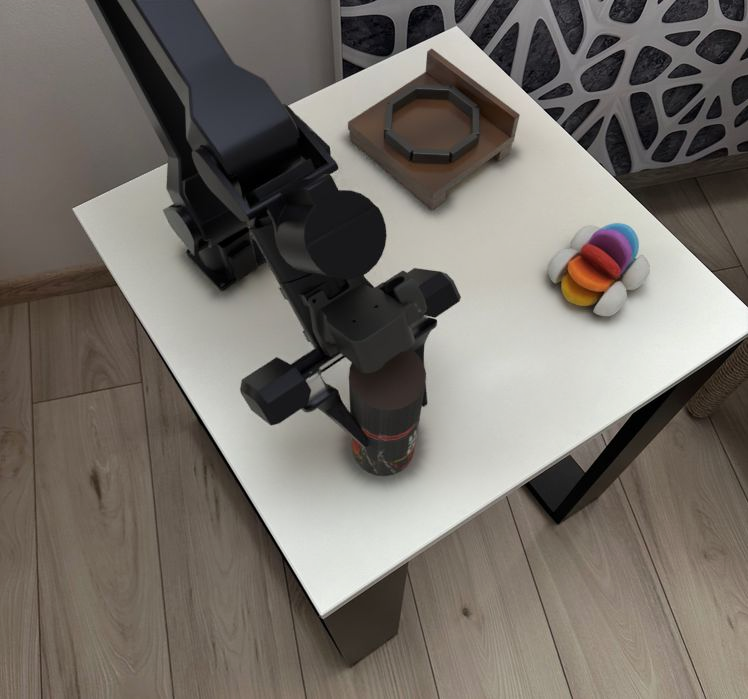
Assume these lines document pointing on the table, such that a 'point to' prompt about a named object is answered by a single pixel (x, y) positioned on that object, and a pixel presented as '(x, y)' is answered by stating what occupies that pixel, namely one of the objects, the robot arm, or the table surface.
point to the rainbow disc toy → (600, 267)
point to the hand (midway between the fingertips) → (394, 425)
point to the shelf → (435, 130)
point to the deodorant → (387, 412)
